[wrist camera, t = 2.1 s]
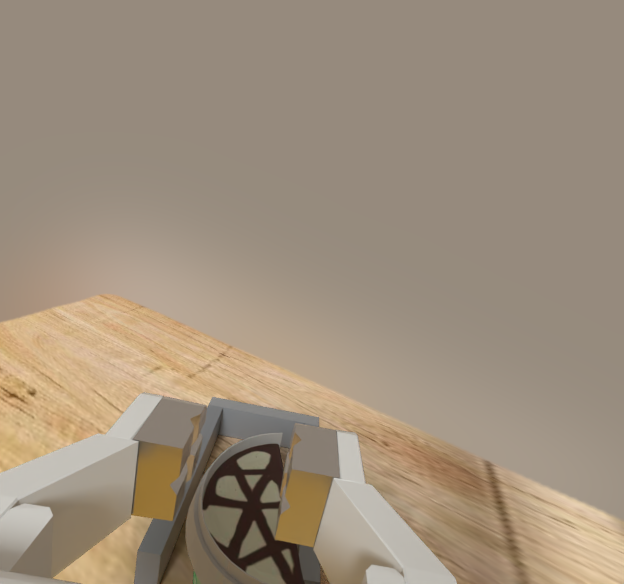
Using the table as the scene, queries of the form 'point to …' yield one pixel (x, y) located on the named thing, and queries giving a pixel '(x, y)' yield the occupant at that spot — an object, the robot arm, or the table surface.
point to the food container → (241, 518)
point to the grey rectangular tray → (219, 421)
